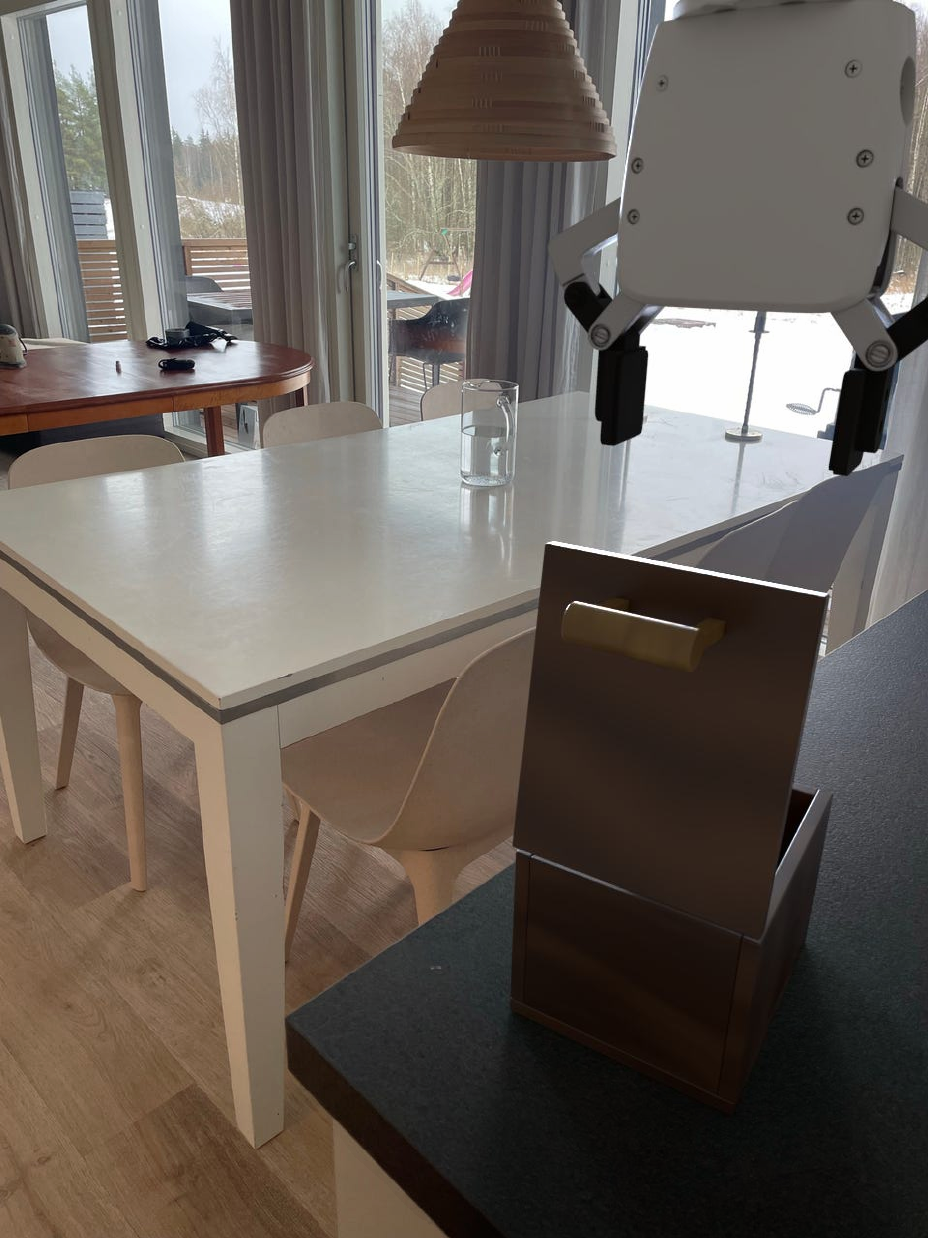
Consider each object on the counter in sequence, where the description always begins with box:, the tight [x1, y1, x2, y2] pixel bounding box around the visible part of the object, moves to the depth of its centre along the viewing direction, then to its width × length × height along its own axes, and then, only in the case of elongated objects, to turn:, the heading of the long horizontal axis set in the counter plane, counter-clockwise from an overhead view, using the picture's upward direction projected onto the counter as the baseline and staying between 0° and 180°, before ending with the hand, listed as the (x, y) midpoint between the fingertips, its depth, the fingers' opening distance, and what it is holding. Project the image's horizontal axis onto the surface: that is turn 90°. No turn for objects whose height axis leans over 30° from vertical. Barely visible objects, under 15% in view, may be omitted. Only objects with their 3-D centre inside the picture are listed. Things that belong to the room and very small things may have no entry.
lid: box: [511, 541, 831, 940], centre depth 37 cm, size 14×12×5 cm
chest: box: [509, 781, 834, 1117], centre depth 48 cm, size 14×12×10 cm
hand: (726, 453), depth 39 cm, fingers open, 9 cm apart
